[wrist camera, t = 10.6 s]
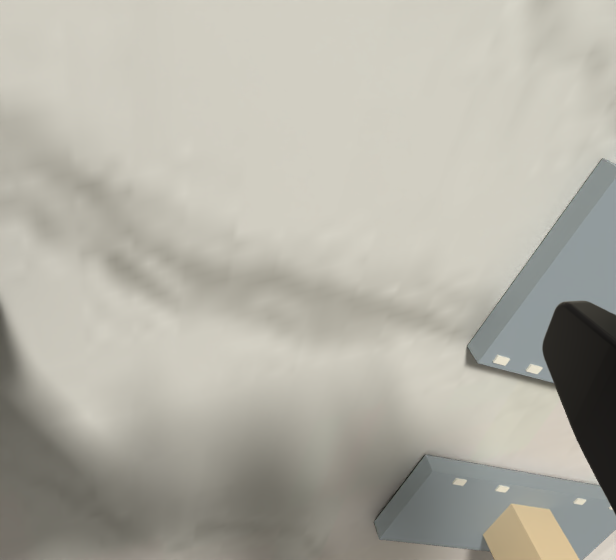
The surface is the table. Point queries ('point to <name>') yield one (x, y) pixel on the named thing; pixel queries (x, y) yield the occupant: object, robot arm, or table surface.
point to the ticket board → (556, 280)
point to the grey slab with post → (497, 512)
